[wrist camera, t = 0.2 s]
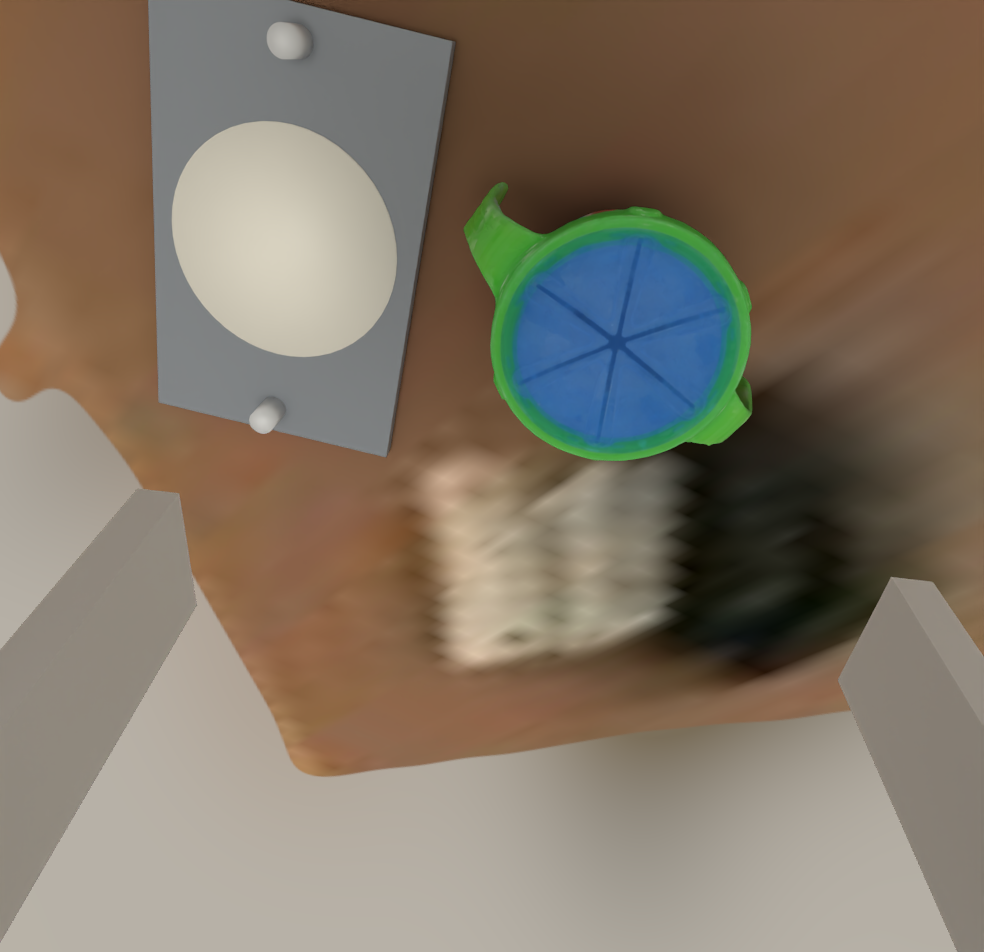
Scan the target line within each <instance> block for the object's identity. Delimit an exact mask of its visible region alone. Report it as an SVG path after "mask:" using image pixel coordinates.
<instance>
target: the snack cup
mask: <svg viewBox="0 0 984 952" xmlns="http://www.w3.org/2000/svg"><path fill="white" fill-rule="evenodd" d="M507 191H508V185H507V184H506V183H504V182H501V183H498V184H496V185H495V186H494V187H493V188H492V189H491V190H490V191H489V193H488V194H487V195H486V197H485V198H484V199H483V201H482V203H481V205H480V206H479V207H478V208H477V209H476V211H475V213H474V214H473V216H472V217H471V218H470V219H469V220H468V222H467V224H466V225H465V227H464V233H465V236H466V238H467V241H468V244H469V247H470V250H471V252H472V255H473V257H474V259H475V261H476V263H477V265H478V267H479V269H480V271H481V273H482V275H483V276H484V278H485V280H486V282H487V283H488V285H489V287H490V288H491V290H492V293H493V295H494V296H495V302H496V306H495V312H494V317H493V323H492V329H491V343H490V349H491V359H492V366H493V370H494V383H495V385H496V387H497V390H498V392H499V394H500V395H501V398H502V399H505V400H506V402H507V404H508V405H509V407H510V409H511V410H512V412H513V413H514V414H515V415H516V417H517V418H518V419H519V420H520V421H521V422H522V423H523V425H524V426H525V427H526V428H528V429H529V430H530V431H531V432H532V433H533V434H534V435H536V436H537V437H539V438H540V439H542V440H543V441H545V442H547V443H548V444H550V445H552V446H554V447H556V448H558V449H560V450H563V451H565V452H568V453H571V454H574V455H577V456H580V457H584V458H588V459H592V460H606V461H624V460H631V459H638V458H644V457H648V456H652V455H655V454H658V453H661V452H664V451H667V450H669V449H671V448H674V447H676V446H677V445H679V444H681V443H683V442H685V441H686V442H694V443H700V444H707V445H708V446H709V445H711V444H716V443H721V442H723V441H724V440H725V439H727V438H728V437H729V436H731V434H732V433H733V432H734V431H735V430H737V429H738V428H739V427H740V426H741V425H742V424H743V423H744V422H746V420H747V419H748V418H749V417H750V415H751V414H752V393H751V389H750V384H749V383H748V381H747V380H746V379H745V378H744V377H743V376H742V375H743V372H744V369H745V366H746V363H747V359H748V355H749V350H750V345H751V324H750V316H749V313H750V310H751V308H752V305H751V301H750V297H749V293H748V290H747V288H746V286H745V284H744V283H743V282H742V281H740V280H739V279H738V278H737V276H736V274H735V273H734V271H733V269H732V267H731V266H730V264H729V263H728V261H727V260H726V258H725V257H724V255H723V254H722V253H721V252H720V250H719V249H718V248H717V247H716V246H715V245H714V244H713V243H712V242H711V241H710V240H709V239H708V238H706V237H705V236H703V235H702V234H701V233H700V232H698V231H697V230H695V229H693V228H692V227H690V226H688V225H687V224H685V223H683V222H681V221H678V220H676V219H673V218H670V217H667V216H665V215H663V214H662V213H661V212H660V211H659V210H656V209H651V208H644V207H636V206H635V207H630V208H628V209H625V210H617V209H611V210H602V211H597V212H593V213H590V214H588V215H585V216H583V217H581V218H579V219H577V220H574V221H572V222H569V223H567V224H565V225H564V226H562V227H560V228H558V229H556V230H555V231H553V232H551V233H548V234H538V233H534V232H533V231H531V230H529V229H527V228H525V227H523V226H521V225H519V224H518V223H516V222H514V221H513V220H511V219H510V218H509V217H507V216H505V215H504V214H503V213H502V211H501V208H500V207H499V205H500V204H501V202H502V200H503V198H504V196H505V195H506V193H507Z"/></svg>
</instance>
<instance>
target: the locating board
mask: <svg viewBox="0 0 984 952" xmlns="http://www.w3.org/2000/svg"><path fill="white" fill-rule="evenodd" d="M148 10H149V48H150V87H151V125H152V164H153V202H154V240H155V279H156V317H157V356H158V394H159V403H164V404H168V405H172V406H176V407H180V408H184V409H188V410H192V411H197V412H201V413H205V414H209V415H213V416H217V417H221V418H226V419H230V420H234V421H238V422H242V423H246V424H250V425H251V427H252V428H253V429H254V430H255V431H256V432H258V433H262V434H266V433H269V432H270V431H271V430H275V431H279V432H283V433H288V434H292V435H296V436H300V437H304V438H308V439H312V440H317V441H321V442H325V443H329V444H333V445H337V446H341V447H346V448H350V449H354V450H358V451H362V452H366V453H370V454H374V455H379V456H383V457H387V455H388V453H389V451H390V446H391V440H392V434H393V428H394V422H395V415H396V409H397V403H398V397H399V391H400V385H401V378H402V372H403V366H404V360H405V354H406V347H407V341H408V335H409V329H410V323H411V317H412V310H413V304H414V298H415V292H416V286H417V279H418V273H419V267H420V261H421V255H422V248H423V242H424V236H425V230H426V224H427V218H428V211H429V205H430V199H431V193H432V187H433V180H434V174H435V168H436V162H437V156H438V150H439V143H440V137H441V131H442V125H443V119H444V112H445V106H446V100H447V94H448V88H449V82H450V75H451V69H452V63H453V57H454V51H455V44H456V42H455V41H451V40H447V39H443V38H439V37H435V36H431V35H427V34H423V33H419V32H415V31H411V30H407V29H403V28H399V27H395V26H391V25H387V24H383V23H379V22H375V21H371V20H367V19H363V18H359V17H355V16H351V15H347V14H343V13H339V12H335V11H331V10H327V9H323V8H319V7H315V6H311V5H307V4H303V3H299V2H295V1H291V0H148Z"/></svg>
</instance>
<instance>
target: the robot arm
mask: <svg viewBox="0 0 984 952" xmlns="http://www.w3.org/2000/svg"><path fill="white" fill-rule="evenodd" d="M196 606H197V604H196V598H195V591H194V584H193V578H192V572H191V565H190V559H189V553H188V546H187V540H186V534H185V527H184V521H183V515H182V508H181V502H180V496H179V493H171V492H163V491H154V490H146V489H137V490H136V491H135V492H134V493H133V494H132V495H131V497H130V498H129V499H128V500H127V501H126V503H125V504H124V505H123V506H122V507H121V509H120V510H119V511H118V512H117V513H116V514H115V516H114V517H113V518H112V519H111V520H110V521H109V523H108V524H107V525H106V526H105V527H104V529H103V530H102V531H101V532H100V533H99V534H98V535H97V537H96V538H95V539H94V540H93V541H92V543H91V544H90V545H89V546H88V547H87V549H86V550H85V551H84V552H83V553H82V554H81V556H80V557H79V558H78V559H77V560H76V561H75V563H74V564H73V565H72V566H71V567H70V568H69V570H68V571H67V572H66V573H65V574H64V576H63V577H62V578H61V579H60V580H59V581H58V583H57V584H56V585H55V586H54V588H52V590H51V591H50V592H49V593H48V594H47V596H46V597H45V598H44V599H43V600H42V601H41V603H40V604H39V605H38V606H37V607H36V609H35V610H34V611H33V612H32V613H31V614H30V616H29V617H28V618H27V619H26V620H25V621H24V623H23V624H22V625H21V626H20V627H19V628H18V630H17V631H16V632H15V633H14V635H13V636H12V637H11V638H10V639H9V640H8V641H7V643H6V644H5V645H4V646H3V647H2V648H1V650H0V942H1V940H2V939H3V937H4V935H5V933H6V932H7V930H8V928H9V927H10V925H11V923H12V921H13V920H14V918H15V916H16V914H17V913H18V911H19V909H20V908H21V906H22V904H23V902H24V901H25V899H26V897H27V896H28V894H29V892H30V891H31V889H32V887H33V885H34V884H35V882H36V880H37V879H38V877H39V875H40V873H41V872H42V870H43V868H44V866H45V865H46V863H47V861H48V860H49V858H50V856H51V855H52V853H53V851H54V849H55V848H56V846H57V844H58V842H59V841H60V839H61V837H62V836H63V834H64V832H65V830H66V829H67V827H68V825H69V824H70V822H71V820H72V818H73V817H74V815H75V813H76V812H77V810H78V808H79V806H80V805H81V803H82V801H83V800H84V798H85V796H86V795H87V793H88V791H89V789H90V788H91V786H92V784H93V783H94V781H95V779H96V777H97V776H98V774H99V772H100V771H101V769H102V767H103V765H104V763H105V762H106V760H107V759H108V757H109V755H110V753H111V752H112V750H113V748H114V747H115V745H116V743H117V741H118V740H119V738H120V736H121V734H122V733H123V731H124V729H125V728H126V726H127V724H128V722H129V721H130V719H131V717H132V716H133V714H134V712H135V710H136V709H137V707H138V705H139V704H140V702H141V700H142V698H143V697H144V695H145V693H146V692H147V690H148V688H149V686H150V685H151V683H152V681H153V680H154V678H155V676H156V674H157V673H158V671H159V669H160V668H161V666H162V664H163V662H164V661H165V659H166V657H167V656H168V654H169V652H170V650H171V649H172V647H173V645H174V644H175V642H176V640H177V638H178V637H179V635H180V633H181V632H182V630H183V628H184V626H185V625H186V623H187V621H188V620H189V618H190V616H191V614H192V613H193V611H194V609H195V607H196ZM838 682H839V684H840V686H841V689H842V691H843V693H844V695H845V698H846V700H847V702H848V704H849V707H850V709H851V711H852V713H853V715H854V718H855V720H856V723H857V725H858V727H859V729H860V732H861V734H862V736H863V739H864V741H865V743H866V745H867V748H868V750H869V752H870V754H871V757H872V759H873V761H874V764H875V766H876V768H877V770H878V773H879V775H880V777H881V779H882V782H883V784H884V786H885V788H886V791H887V793H888V795H889V798H890V800H891V802H892V805H893V807H894V809H895V811H896V814H897V816H898V818H899V820H900V823H901V825H902V827H903V830H904V832H905V834H906V836H907V839H908V841H909V843H910V845H911V848H912V850H913V852H914V855H915V857H916V859H917V861H918V864H919V866H920V868H921V870H922V872H923V875H924V877H925V880H926V882H927V884H928V886H929V889H930V891H931V893H932V895H933V897H934V900H935V902H936V904H937V907H938V909H939V911H940V914H941V916H942V918H943V920H944V923H945V925H946V927H947V930H948V932H949V933H950V936H951V939H952V941H953V943H954V945H955V948H956V950H957V952H984V656H983V655H982V654H981V652H980V651H979V649H978V648H977V646H976V645H975V643H974V642H973V640H972V639H971V637H970V636H969V634H968V633H967V632H966V630H965V629H964V627H963V626H962V624H961V623H960V621H959V620H958V618H957V617H956V615H955V614H954V612H953V611H952V610H951V608H950V607H949V605H948V604H947V602H946V601H945V599H944V598H943V596H942V595H941V593H940V592H939V590H938V589H937V588H936V586H935V585H934V583H933V582H929V581H920V580H912V579H903V578H895V577H891V579H890V581H889V583H888V584H887V586H886V588H885V590H884V592H883V594H882V596H881V598H880V600H879V602H878V604H877V606H876V608H875V609H874V611H873V613H872V615H871V617H870V619H869V621H868V623H867V625H866V627H865V629H864V631H863V633H862V634H861V636H860V638H859V640H858V642H857V644H856V646H855V648H854V650H853V652H852V654H851V656H850V658H849V659H848V661H847V663H846V665H845V667H844V669H843V671H842V673H841V675H840V677H839V679H838Z"/></svg>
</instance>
